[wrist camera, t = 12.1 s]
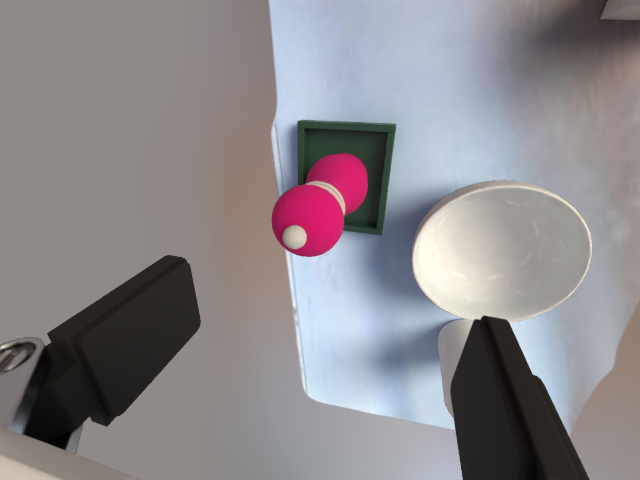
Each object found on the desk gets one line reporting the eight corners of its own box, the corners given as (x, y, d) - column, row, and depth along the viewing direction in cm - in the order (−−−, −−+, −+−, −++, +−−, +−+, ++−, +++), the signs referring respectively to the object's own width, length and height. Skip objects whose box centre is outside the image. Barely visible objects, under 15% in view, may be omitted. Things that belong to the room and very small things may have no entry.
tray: (302, 119, 37) (297, 120, 35) (396, 123, 34) (395, 125, 32) (303, 219, 43) (298, 224, 41) (382, 229, 40) (381, 235, 38)
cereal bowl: (576, 165, 31) (617, 181, 25) (545, 293, 38) (571, 331, 32) (411, 174, 36) (412, 189, 30) (409, 286, 43) (410, 317, 37)
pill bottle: (430, 321, 44) (440, 413, 31) (489, 313, 41) (527, 412, 28) (443, 360, 47) (456, 460, 34) (499, 355, 44) (538, 464, 31)
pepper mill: (312, 153, 38) (231, 199, 20) (367, 144, 35) (329, 185, 18) (322, 206, 40) (259, 286, 23) (374, 200, 38) (348, 284, 21)
